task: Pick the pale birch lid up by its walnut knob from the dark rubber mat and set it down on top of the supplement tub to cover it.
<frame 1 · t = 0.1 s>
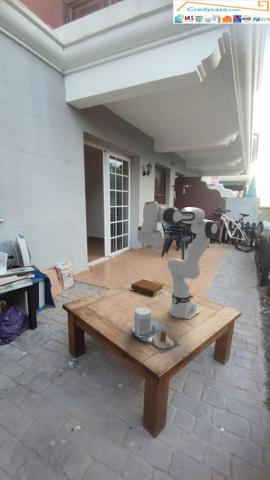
hand: (148, 251, 131), 48 cm above the table, fingers open, 8 cm apart
lid: (162, 342, 121), point 1 cm above the table, touching mat
diary: (147, 290, 197), on the table
supplement tub: (141, 334, 129), on the table
mat: (162, 343, 121), on the table
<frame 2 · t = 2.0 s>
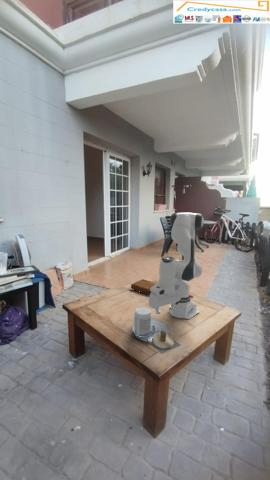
hand: (164, 311, 118), 19 cm above the table, fingers open, 8 cm apart
nothing on the table moved.
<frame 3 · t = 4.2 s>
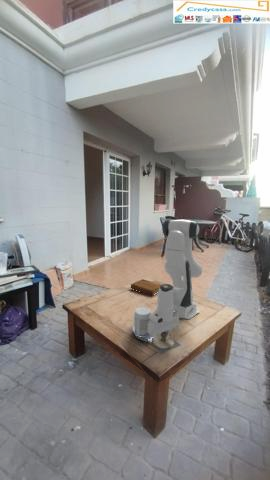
hand: (163, 337, 121), 3 cm above the table, fingers closed on lid, 3 cm apart
lid: (162, 342, 121), point 1 cm above the table, touching gripper, mat
everything else where it was.
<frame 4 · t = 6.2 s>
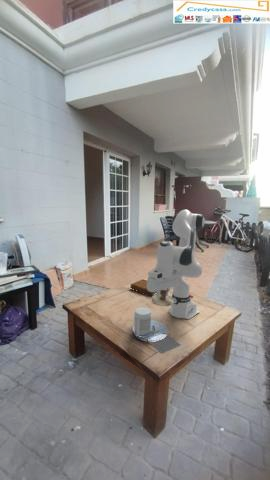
hand: (162, 296, 118), 27 cm above the table, fingers closed on lid, 3 cm apart
lid: (162, 301, 118), point 24 cm above the table, touching gripper
everything else where it was.
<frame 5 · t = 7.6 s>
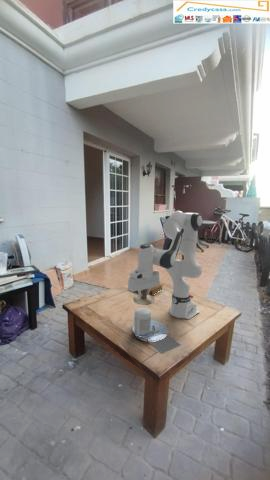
hand: (143, 295, 125), 24 cm above the table, fingers closed on lid, 3 cm apart
lid: (143, 300, 126), point 21 cm above the table, touching gripper
everything else where it was.
when the fingers open (20 cm above the table, at t = 8.6 s): lid drops 2 cm, resting on supplement tub.
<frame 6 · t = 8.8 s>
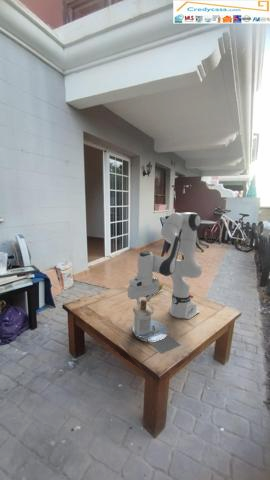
hand: (143, 302, 126), 20 cm above the table, fingers open, 5 cm apart
lid: (143, 310, 127), point 15 cm above the table, touching supplement tub
supplement tub: (141, 334, 129), on the table, touching lid
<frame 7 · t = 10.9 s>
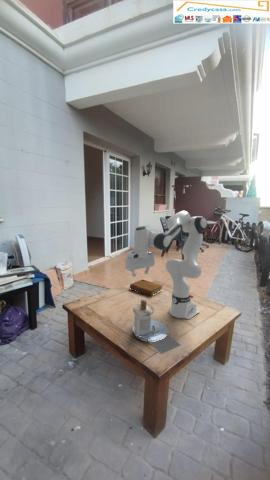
hand: (140, 274, 135), 33 cm above the table, fingers open, 8 cm apart
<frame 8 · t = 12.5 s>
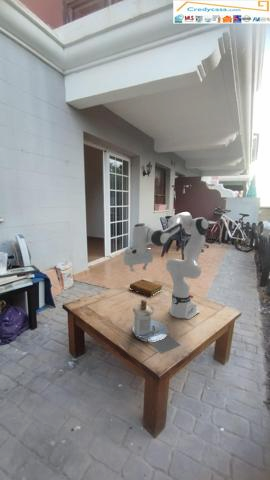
hand: (138, 270, 139), 34 cm above the table, fingers open, 8 cm apart
at the end: lid inside the target area on the supplement tub (0.2 cm from its centre), point 14.9 cm above the supplement tub's base; lid tilted 0°; the gripper is holding nothing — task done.
